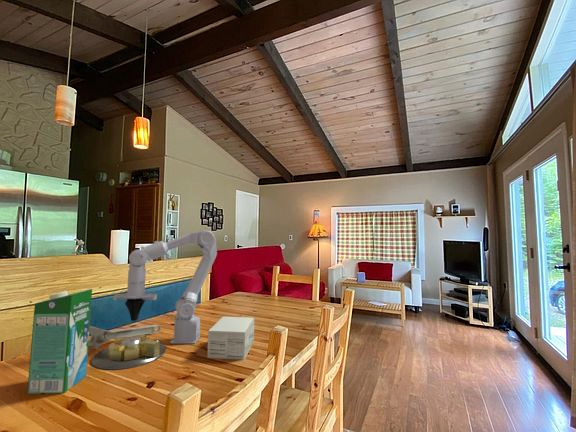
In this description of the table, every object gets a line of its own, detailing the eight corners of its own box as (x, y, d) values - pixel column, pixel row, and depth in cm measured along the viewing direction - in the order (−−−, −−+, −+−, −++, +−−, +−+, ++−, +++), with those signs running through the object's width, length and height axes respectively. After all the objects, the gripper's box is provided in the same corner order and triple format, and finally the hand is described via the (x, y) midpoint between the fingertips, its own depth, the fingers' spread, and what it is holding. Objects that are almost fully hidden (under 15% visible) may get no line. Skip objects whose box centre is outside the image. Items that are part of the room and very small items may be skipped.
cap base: (173, 342, 107) (174, 328, 108) (150, 369, 85) (151, 352, 86) (114, 342, 106) (115, 329, 106) (74, 370, 84) (75, 353, 84)
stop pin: (158, 354, 96) (159, 339, 97) (156, 355, 95) (157, 340, 95) (153, 354, 96) (154, 339, 97) (151, 356, 95) (152, 340, 95)
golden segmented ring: (129, 343, 103) (130, 331, 104) (169, 348, 99) (169, 336, 100) (98, 357, 91) (99, 344, 91) (142, 364, 87) (143, 350, 87)
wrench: (159, 339, 118) (76, 353, 95) (157, 338, 120) (74, 352, 96) (162, 319, 120) (81, 328, 96) (160, 318, 121) (79, 327, 97)
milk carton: (53, 376, 80) (60, 288, 82) (86, 375, 81) (92, 288, 83) (26, 394, 71) (35, 294, 73) (64, 393, 72) (71, 294, 74)
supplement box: (221, 340, 111) (222, 316, 112) (254, 341, 110) (254, 317, 111) (206, 358, 94) (207, 330, 95) (244, 360, 93) (245, 331, 94)
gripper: (110, 284, 99) (107, 323, 98) (152, 284, 100) (150, 323, 99) (120, 280, 106) (118, 317, 105) (159, 281, 107) (158, 317, 106)
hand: (134, 319), depth 102 cm, fingers closed
